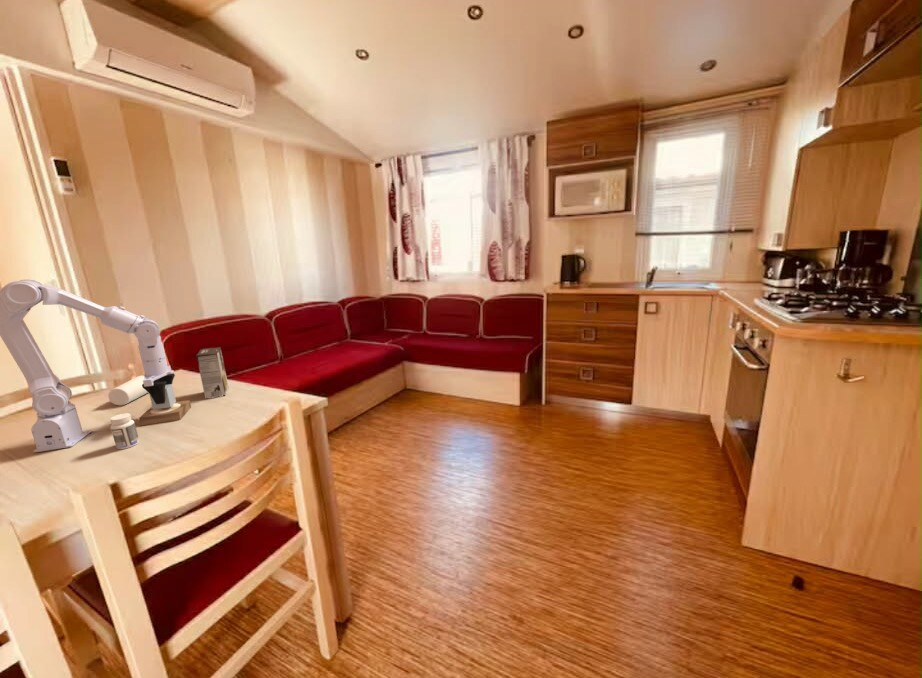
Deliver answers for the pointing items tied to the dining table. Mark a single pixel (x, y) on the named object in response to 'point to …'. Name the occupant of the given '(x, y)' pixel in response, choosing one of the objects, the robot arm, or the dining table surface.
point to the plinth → (165, 413)
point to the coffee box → (212, 372)
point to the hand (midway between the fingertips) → (163, 400)
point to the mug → (127, 391)
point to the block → (168, 398)
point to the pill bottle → (124, 431)
